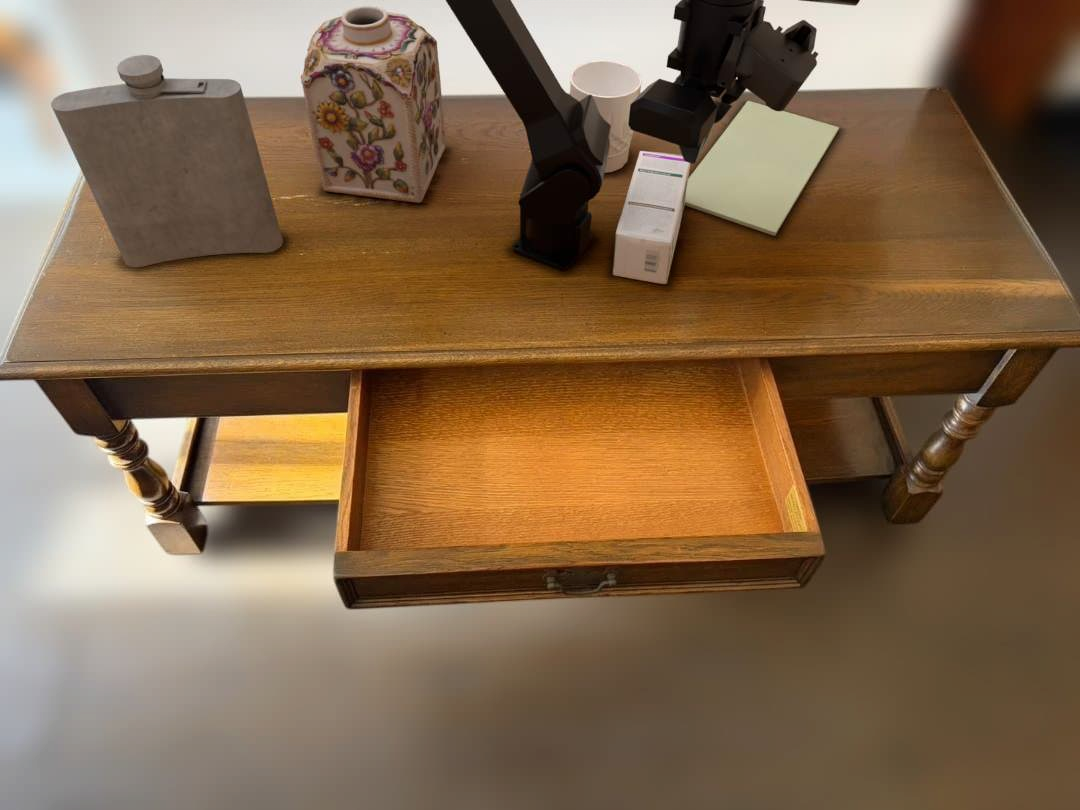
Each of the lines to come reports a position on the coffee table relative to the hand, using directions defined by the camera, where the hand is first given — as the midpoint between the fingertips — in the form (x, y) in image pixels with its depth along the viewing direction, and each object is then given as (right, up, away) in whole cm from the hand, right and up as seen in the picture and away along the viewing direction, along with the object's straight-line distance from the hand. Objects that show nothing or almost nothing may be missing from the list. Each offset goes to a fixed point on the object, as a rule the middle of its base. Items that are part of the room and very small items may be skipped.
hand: (690, 160), depth 78 cm
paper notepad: (+12, +6, +21) cm, 25 cm away
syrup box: (-4, -9, +5) cm, 11 cm away
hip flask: (-49, -7, +9) cm, 50 cm away
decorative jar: (-32, +4, +19) cm, 37 cm away
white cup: (-7, +6, +21) cm, 23 cm away
